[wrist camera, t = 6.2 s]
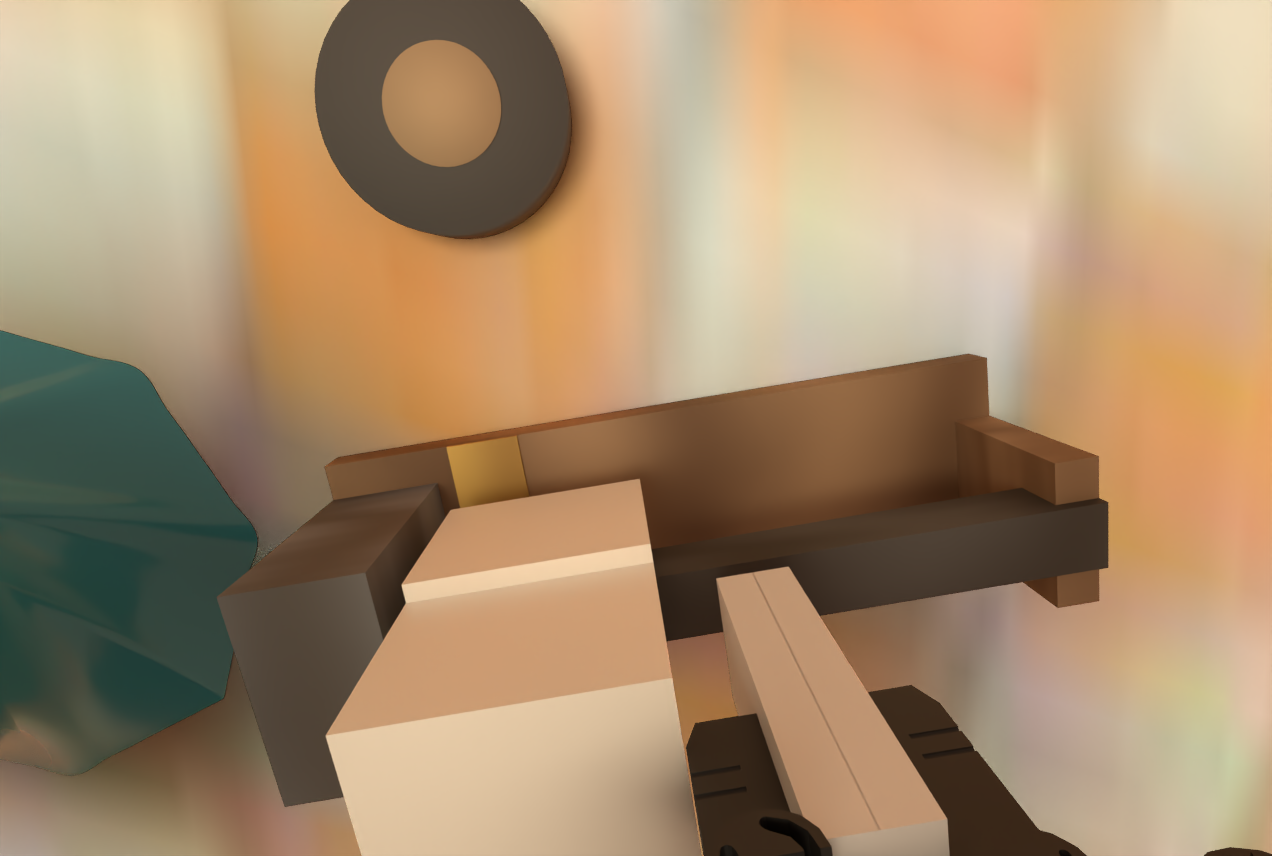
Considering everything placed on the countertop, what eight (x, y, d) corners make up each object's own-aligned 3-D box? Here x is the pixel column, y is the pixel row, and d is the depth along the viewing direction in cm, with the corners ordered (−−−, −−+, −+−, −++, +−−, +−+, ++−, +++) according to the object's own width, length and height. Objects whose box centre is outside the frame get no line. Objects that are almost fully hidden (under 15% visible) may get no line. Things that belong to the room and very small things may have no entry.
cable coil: (376, 254, 19) (348, 252, 17) (320, 18, 18) (283, -15, 16) (589, 220, 19) (587, 213, 17) (549, -19, 18) (542, -57, 16)
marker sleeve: (485, 659, 19) (392, 956, 11) (451, 509, 18) (317, 711, 10) (664, 629, 19) (709, 903, 11) (639, 478, 18) (667, 652, 10)
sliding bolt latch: (393, 665, 22) (296, 845, 15) (338, 457, 20) (201, 551, 13) (978, 568, 22) (1147, 702, 15) (968, 353, 20) (1151, 394, 14)
